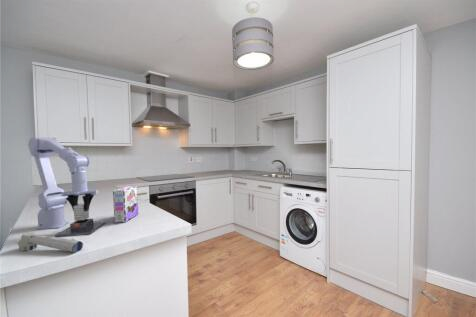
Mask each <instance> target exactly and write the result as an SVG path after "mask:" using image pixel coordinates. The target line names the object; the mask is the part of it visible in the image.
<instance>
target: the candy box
mask: <svg viewBox="0 0 476 317" xmlns="http://www.w3.org/2000/svg"><path fill="white" fill-rule="evenodd" d="M112 197H113V219H114V220H113V221H114V223H115V224H117V223H120V224H121V223H122V224H123V223H127V222H129V221H130V220H131V219H133V218H136V217H137V216H138V215H139V204H138V203H139V202H138V200H139V199H138V198H139V197H138V186H137V185H135V186H134V185H132V186H129V185H128V186H125V187H121V188H117V189H113V191H112ZM136 215H137V216H136Z"/></svg>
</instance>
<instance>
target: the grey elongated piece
mask: <svg viewBox="0 0 476 317" xmlns="http://www.w3.org/2000/svg"><path fill="white" fill-rule="evenodd" d="M38 245H39V246H42V247H47V248H52V249H55V250H60V251H64V252H66V253H78V252H80V251H82V249H83V247H84V243H83V241H80V240H76V239H74V238H63V237H54V236H49V235H48V236H47V235H39V234H36V233H35V232H33V231H29V232H24V233H23V234H22V235H21V236H20V240H19V241H17V246H18V250H19V251H20V252H25V251H28V250H29V251H33V250H35V249H36V248H37V247H38Z"/></svg>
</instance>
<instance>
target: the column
mask: <svg viewBox="0 0 476 317" xmlns="http://www.w3.org/2000/svg"><path fill="white" fill-rule="evenodd" d="M89 212H90V209H89V210H88V211H85V209H84V202H83V203H82V202H81V203H78V204H77V205H75V206H74V211H73V220H74V221H73V222H75V221H78V220H85V219H90V213H89Z"/></svg>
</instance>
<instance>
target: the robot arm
mask: <svg viewBox="0 0 476 317" xmlns="http://www.w3.org/2000/svg"><path fill="white" fill-rule="evenodd" d="M27 147H28V148H29V149H28V150H29V154H30V155H31V156H32V157H34V161H35V164H36V166H37V171H38V174H39V178H40V181H41V182H40V183H41V185H42V188H43V190H42V191H41V192H40V193H39V194H38V196H37V198H38V206H39V207H40V210H39V211H38V214H37V226H38V227H37V228H36V229H37V230H44V229H45V230H47V229H59V228H61V227H63V226H65V225H67V224H68V223H70V222H69V221H65V210H64V208H65V207H66V205H67V204H68V203H69V204H70V206H71V208H72V211H73V212H74V206H75V205H77V204H79V196H82V200H83V203H84V209H85V211H88V210H89V211H90V206H91V203H92V200H93V198H94V196H95V195H96V196H97V195H99V189H88V176H87V175H88V172H87V167H88V166H89V164H90V159H89V157H88V156H87V155H86V154H80V153H78V152H76V151H75V150H73V148H72V147H64V145H63V144H61V143H60V142H59V139H57V138H56V137H35V136H31V137H30V139H28V146H27ZM55 153H57V154H58V157H59V158H60V159H61V160H63V161H64V162H66V164H67V168H68V170H69V172H70V175H71V178H70V179H71V190H68V191H66V190H64V189H63V188H61V187H58V185H57V180H56V177H55V175H54V171H53V167H52V164H51V161H50V157H51V156H54V154H55Z"/></svg>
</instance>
